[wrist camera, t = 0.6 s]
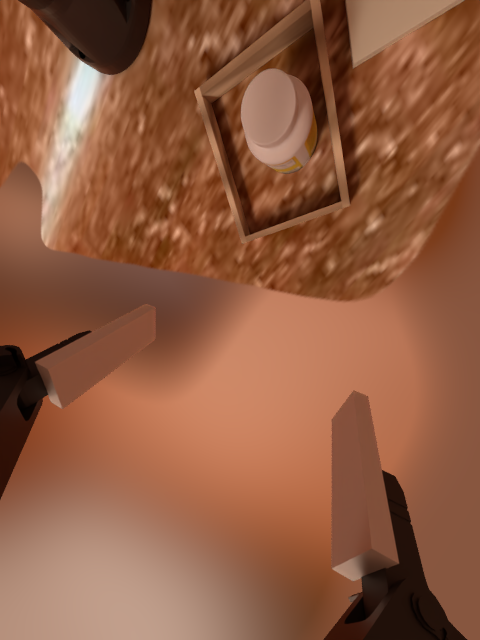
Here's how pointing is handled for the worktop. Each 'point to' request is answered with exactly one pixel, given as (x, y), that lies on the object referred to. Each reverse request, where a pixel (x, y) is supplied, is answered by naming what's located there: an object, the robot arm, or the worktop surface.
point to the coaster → (387, 22)
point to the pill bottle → (279, 121)
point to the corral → (245, 65)
